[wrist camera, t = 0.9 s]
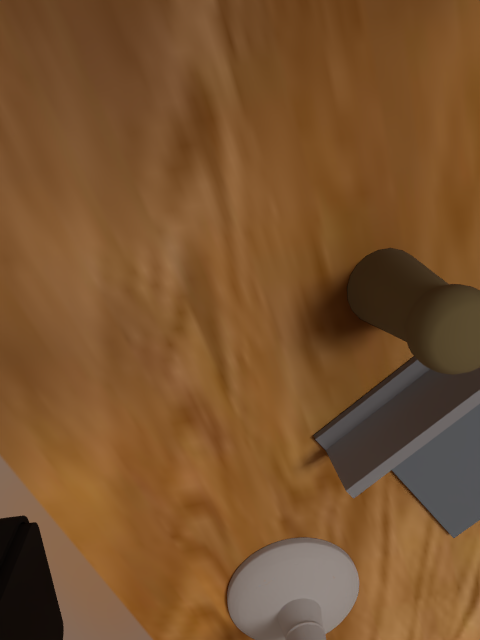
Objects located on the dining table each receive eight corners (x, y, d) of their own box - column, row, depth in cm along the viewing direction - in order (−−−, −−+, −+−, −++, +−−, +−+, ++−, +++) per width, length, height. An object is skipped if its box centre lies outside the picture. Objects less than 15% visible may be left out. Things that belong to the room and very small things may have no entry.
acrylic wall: (531, 264, 36) (592, 281, 30) (553, 300, 37) (614, 323, 32) (313, 435, 38) (334, 478, 33) (340, 463, 40) (364, 509, 35)
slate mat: (504, 343, 38) (509, 346, 37) (573, 445, 42) (578, 449, 42) (370, 446, 40) (373, 450, 39) (450, 533, 44) (453, 538, 44)
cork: (428, 248, 34) (535, 286, 24) (416, 324, 36) (510, 389, 26) (351, 247, 34) (427, 286, 23) (342, 325, 35) (409, 392, 25)
